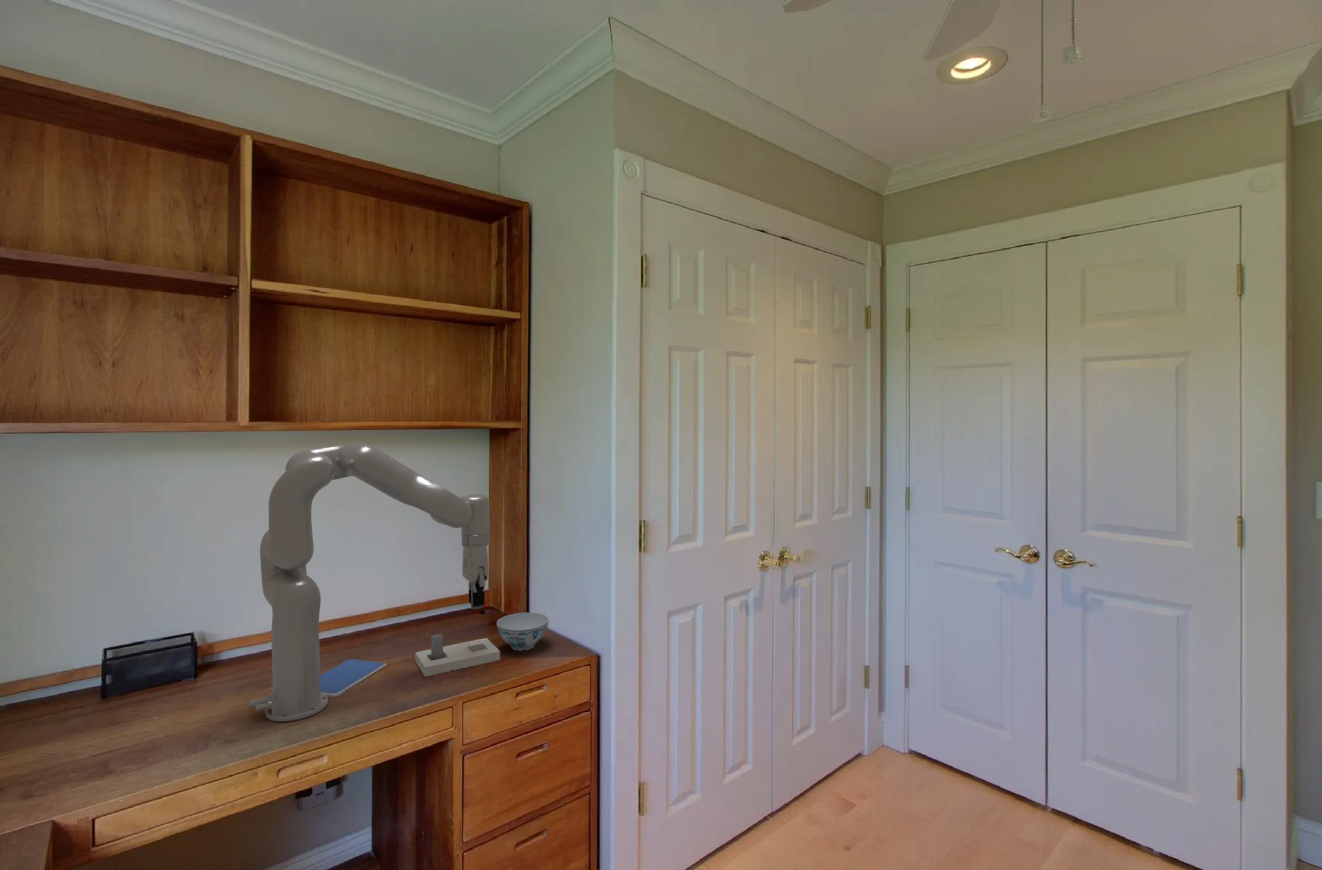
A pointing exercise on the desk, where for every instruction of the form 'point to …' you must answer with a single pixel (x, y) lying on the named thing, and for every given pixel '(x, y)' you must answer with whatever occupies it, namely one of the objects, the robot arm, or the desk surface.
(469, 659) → the pin board
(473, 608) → the steel pin
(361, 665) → the tablet computer
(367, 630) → the desk surface
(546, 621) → the chinaware
